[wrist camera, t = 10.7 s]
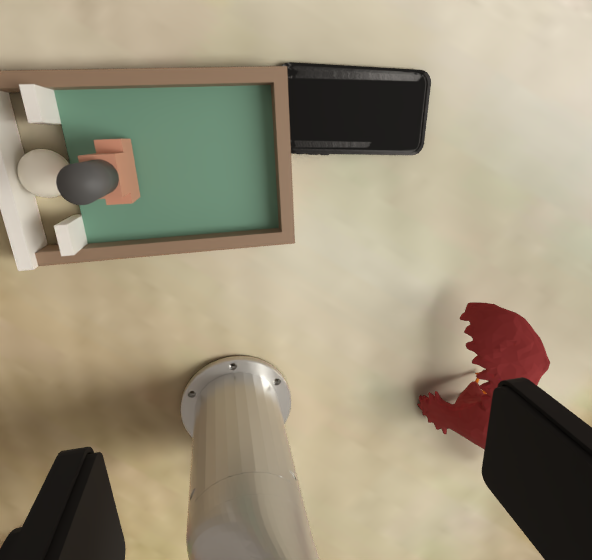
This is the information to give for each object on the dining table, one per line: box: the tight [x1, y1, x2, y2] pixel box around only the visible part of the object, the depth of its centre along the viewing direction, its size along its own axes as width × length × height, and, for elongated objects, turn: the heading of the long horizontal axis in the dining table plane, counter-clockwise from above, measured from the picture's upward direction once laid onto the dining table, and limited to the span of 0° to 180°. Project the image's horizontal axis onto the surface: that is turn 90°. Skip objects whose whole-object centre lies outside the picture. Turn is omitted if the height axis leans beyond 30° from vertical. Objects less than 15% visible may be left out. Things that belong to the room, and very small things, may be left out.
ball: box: [17, 149, 69, 198], centre depth 34 cm, size 4×4×4 cm
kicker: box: [56, 139, 140, 205], centre depth 30 cm, size 5×2×13 cm, turn 2°
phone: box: [282, 62, 431, 155], centre depth 39 cm, size 8×1×15 cm
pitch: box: [0, 66, 295, 271], centre depth 35 cm, size 15×24×5 cm, turn 92°
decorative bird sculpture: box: [417, 303, 550, 449], centre depth 49 cm, size 28×9×15 cm
